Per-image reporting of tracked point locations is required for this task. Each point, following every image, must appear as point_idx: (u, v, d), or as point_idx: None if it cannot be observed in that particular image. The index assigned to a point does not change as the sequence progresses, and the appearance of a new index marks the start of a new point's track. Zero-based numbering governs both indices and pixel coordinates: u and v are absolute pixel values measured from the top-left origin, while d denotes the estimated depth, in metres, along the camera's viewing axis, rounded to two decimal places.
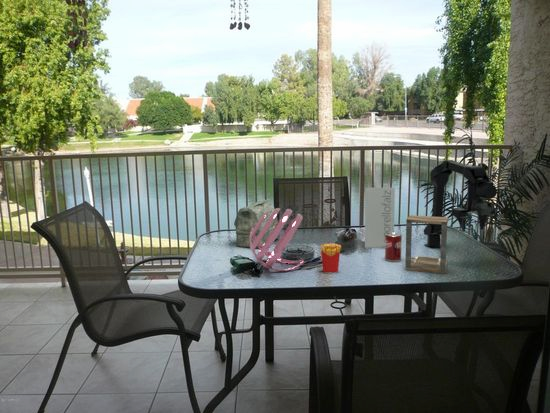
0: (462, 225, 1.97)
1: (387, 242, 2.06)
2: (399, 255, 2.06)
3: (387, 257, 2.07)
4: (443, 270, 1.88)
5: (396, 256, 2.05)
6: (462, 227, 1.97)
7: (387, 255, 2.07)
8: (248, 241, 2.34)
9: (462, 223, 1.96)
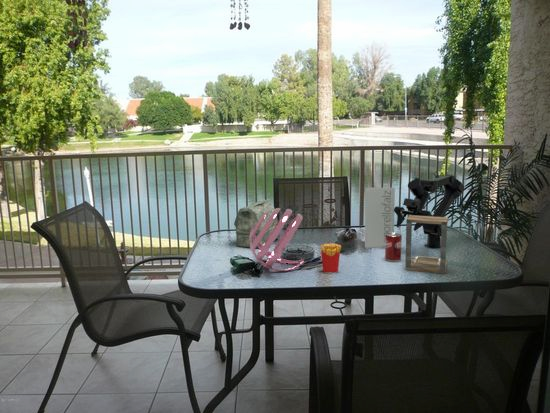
0: None
1: (387, 242, 2.06)
2: (399, 255, 2.06)
3: (387, 257, 2.07)
4: (443, 270, 1.88)
5: (396, 256, 2.05)
6: None
7: (387, 255, 2.07)
8: (248, 241, 2.34)
9: None
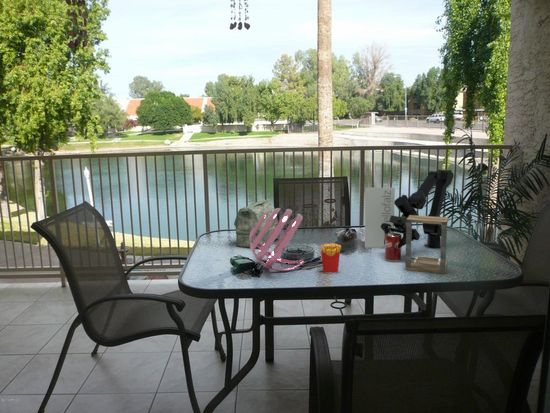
0: None
1: (387, 242, 2.06)
2: (399, 255, 2.06)
3: (387, 257, 2.07)
4: (443, 270, 1.88)
5: (396, 256, 2.05)
6: None
7: (387, 255, 2.07)
8: (248, 241, 2.34)
9: None
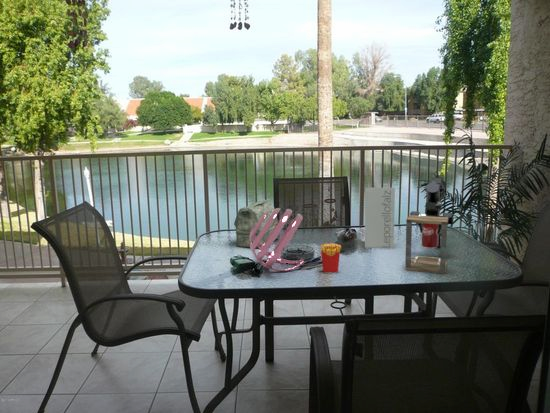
0: (419, 227, 2.09)
1: (428, 230, 2.03)
2: None
3: (428, 245, 2.05)
4: (443, 270, 1.88)
5: (436, 242, 2.05)
6: None
7: (428, 243, 2.05)
8: (248, 241, 2.34)
9: (419, 225, 2.09)
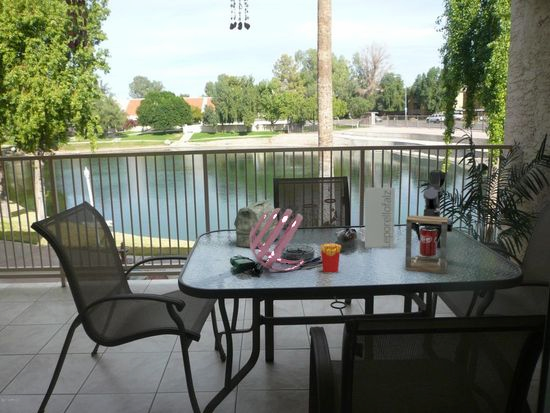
0: (417, 234, 2.02)
1: (427, 237, 1.96)
2: (436, 249, 1.99)
3: (426, 253, 1.98)
4: (443, 270, 1.88)
5: (435, 250, 1.98)
6: None
7: (426, 251, 1.98)
8: (248, 241, 2.34)
9: (417, 232, 2.02)
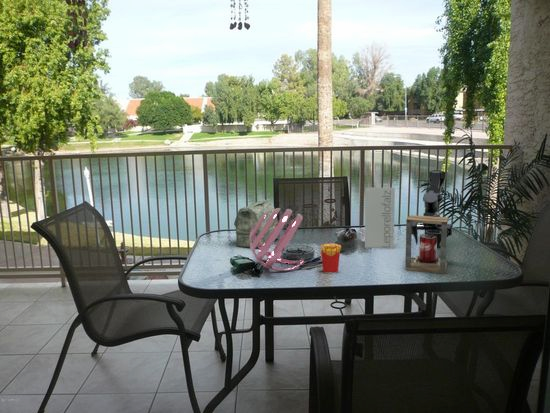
0: None
1: (426, 245, 1.96)
2: None
3: (425, 260, 1.97)
4: (443, 270, 1.88)
5: (435, 258, 1.97)
6: (415, 240, 2.01)
7: (425, 258, 1.97)
8: (248, 241, 2.34)
9: (414, 236, 2.01)
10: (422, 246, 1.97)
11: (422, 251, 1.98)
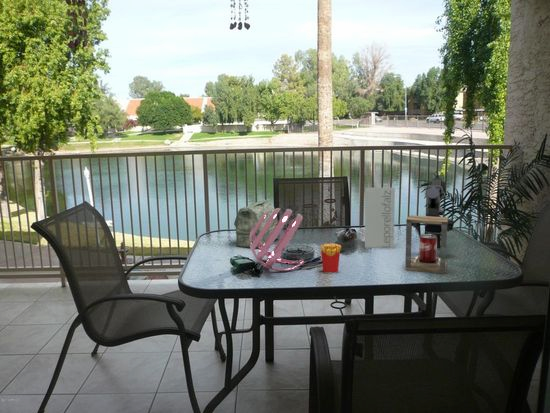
0: (418, 231, 2.09)
1: (426, 245, 1.96)
2: None
3: (425, 260, 1.97)
4: (443, 270, 1.88)
5: (435, 258, 1.97)
6: (418, 233, 2.09)
7: (425, 258, 1.97)
8: (248, 241, 2.34)
9: (417, 229, 2.09)
10: (422, 246, 1.97)
11: (422, 251, 1.98)
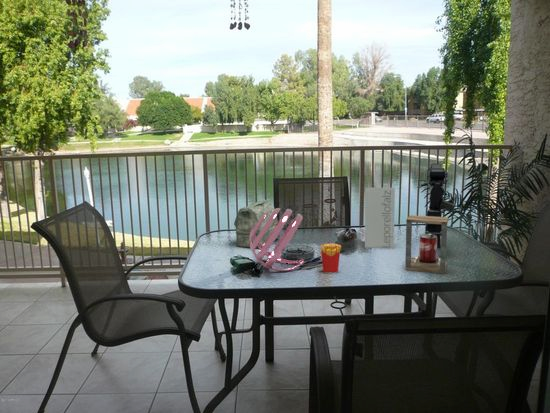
0: (435, 224, 2.07)
1: (426, 245, 1.96)
2: None
3: (425, 260, 1.97)
4: (443, 270, 1.88)
5: (435, 258, 1.97)
6: (434, 226, 2.08)
7: (425, 258, 1.97)
8: (248, 241, 2.34)
9: None
10: (422, 246, 1.97)
11: (422, 251, 1.98)
